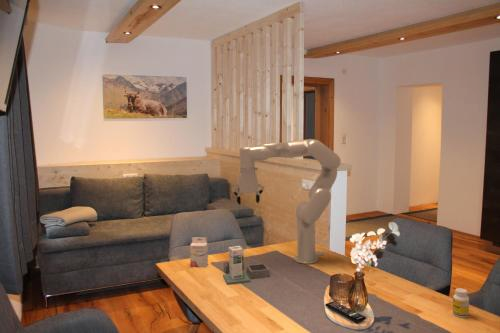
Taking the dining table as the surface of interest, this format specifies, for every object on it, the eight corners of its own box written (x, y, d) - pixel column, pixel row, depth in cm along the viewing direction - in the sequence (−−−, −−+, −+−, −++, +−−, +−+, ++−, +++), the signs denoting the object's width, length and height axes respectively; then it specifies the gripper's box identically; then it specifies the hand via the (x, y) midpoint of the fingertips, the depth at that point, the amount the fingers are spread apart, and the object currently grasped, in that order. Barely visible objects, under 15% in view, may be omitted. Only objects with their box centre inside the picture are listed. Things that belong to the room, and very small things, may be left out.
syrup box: (232, 280, 201) (231, 249, 200) (229, 275, 207) (228, 246, 205) (244, 278, 203) (243, 248, 202) (240, 274, 209) (239, 245, 207)
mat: (244, 273, 212) (244, 271, 211) (250, 281, 201) (250, 279, 201) (222, 276, 209) (222, 274, 209) (227, 284, 198) (227, 282, 198)
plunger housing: (235, 268, 219) (235, 261, 219) (237, 272, 213) (237, 265, 213) (223, 270, 218) (223, 262, 217) (226, 274, 212) (225, 266, 211)
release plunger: (233, 268, 218) (233, 257, 217) (235, 270, 214) (235, 259, 213) (226, 269, 217) (225, 258, 216) (227, 271, 213) (227, 260, 212)
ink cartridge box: (190, 267, 224) (189, 239, 222) (192, 263, 229) (191, 236, 227) (206, 267, 223) (205, 239, 221) (208, 263, 228) (207, 236, 226)
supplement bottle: (449, 312, 165) (450, 287, 164) (463, 311, 165) (464, 286, 164) (457, 318, 160) (458, 293, 158) (471, 317, 160) (472, 292, 159)
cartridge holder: (264, 270, 216) (264, 263, 216) (269, 276, 207) (269, 269, 207) (246, 272, 214) (246, 265, 214) (251, 278, 205) (251, 271, 205)
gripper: (261, 168, 226) (262, 200, 228) (229, 170, 222) (230, 203, 224) (265, 170, 219) (266, 203, 221) (232, 172, 215) (233, 206, 217)
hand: (248, 203), depth 222 cm, fingers open, 9 cm apart
